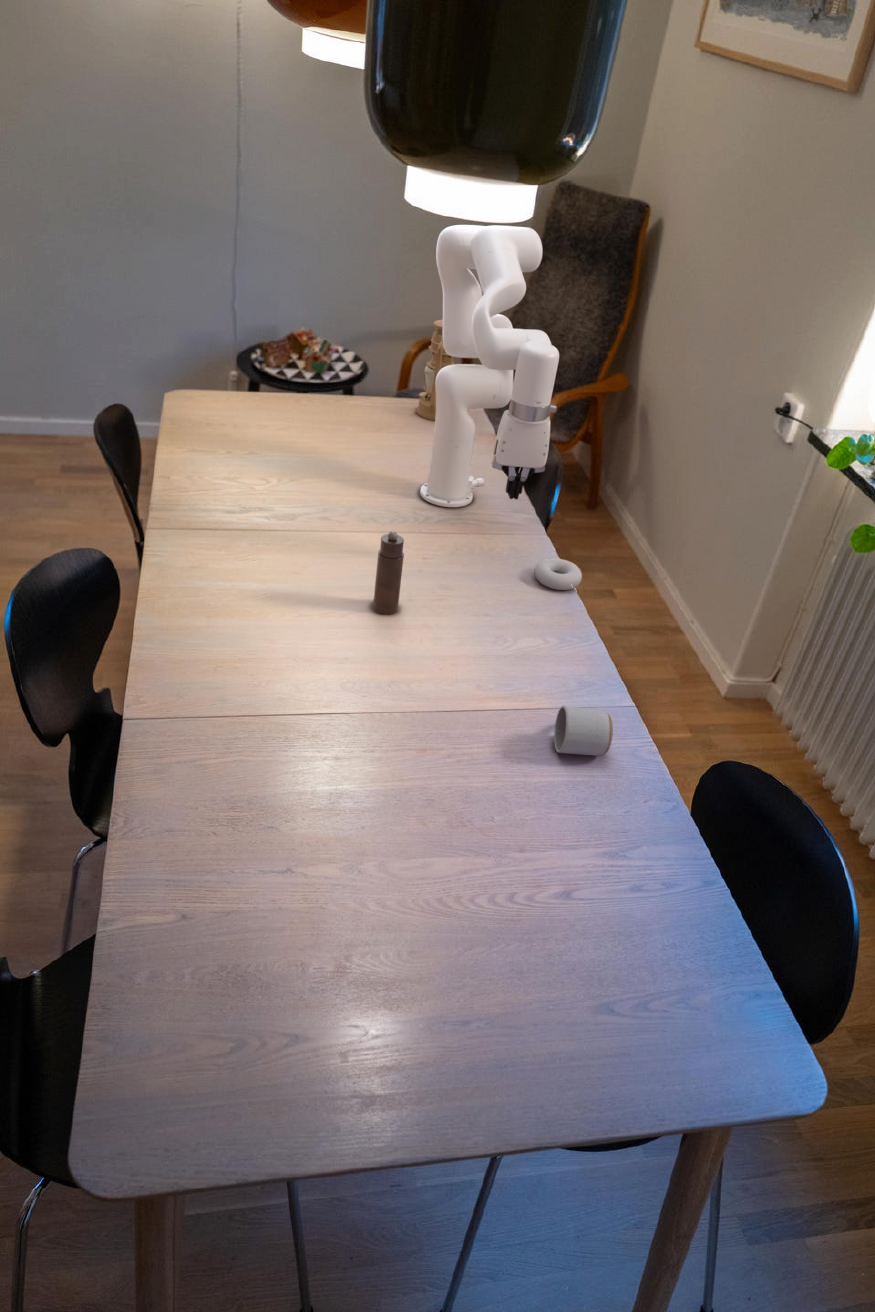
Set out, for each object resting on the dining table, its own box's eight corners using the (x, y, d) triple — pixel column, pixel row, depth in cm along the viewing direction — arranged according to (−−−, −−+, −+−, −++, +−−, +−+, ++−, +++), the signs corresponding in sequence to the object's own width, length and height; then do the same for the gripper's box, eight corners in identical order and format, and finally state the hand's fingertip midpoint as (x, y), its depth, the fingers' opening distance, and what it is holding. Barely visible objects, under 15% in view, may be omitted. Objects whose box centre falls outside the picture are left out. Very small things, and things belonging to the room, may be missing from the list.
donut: (581, 596, 206) (579, 572, 214) (584, 582, 204) (582, 558, 212) (533, 589, 206) (533, 565, 214) (535, 575, 204) (536, 551, 212)
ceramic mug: (608, 765, 160) (618, 727, 156) (558, 762, 160) (567, 724, 155) (595, 725, 169) (605, 688, 165) (548, 722, 168) (556, 685, 164)
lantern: (413, 403, 289) (424, 296, 272) (448, 405, 291) (462, 299, 274) (420, 422, 276) (432, 312, 260) (457, 424, 278) (471, 315, 262)
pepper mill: (389, 599, 196) (397, 523, 186) (402, 611, 192) (411, 535, 183) (368, 604, 193) (375, 528, 184) (381, 616, 190) (388, 539, 181)
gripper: (563, 405, 194) (545, 490, 205) (487, 398, 192) (473, 485, 203) (570, 420, 188) (552, 507, 199) (493, 413, 186) (478, 502, 197)
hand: (512, 495), depth 201 cm, fingers closed
